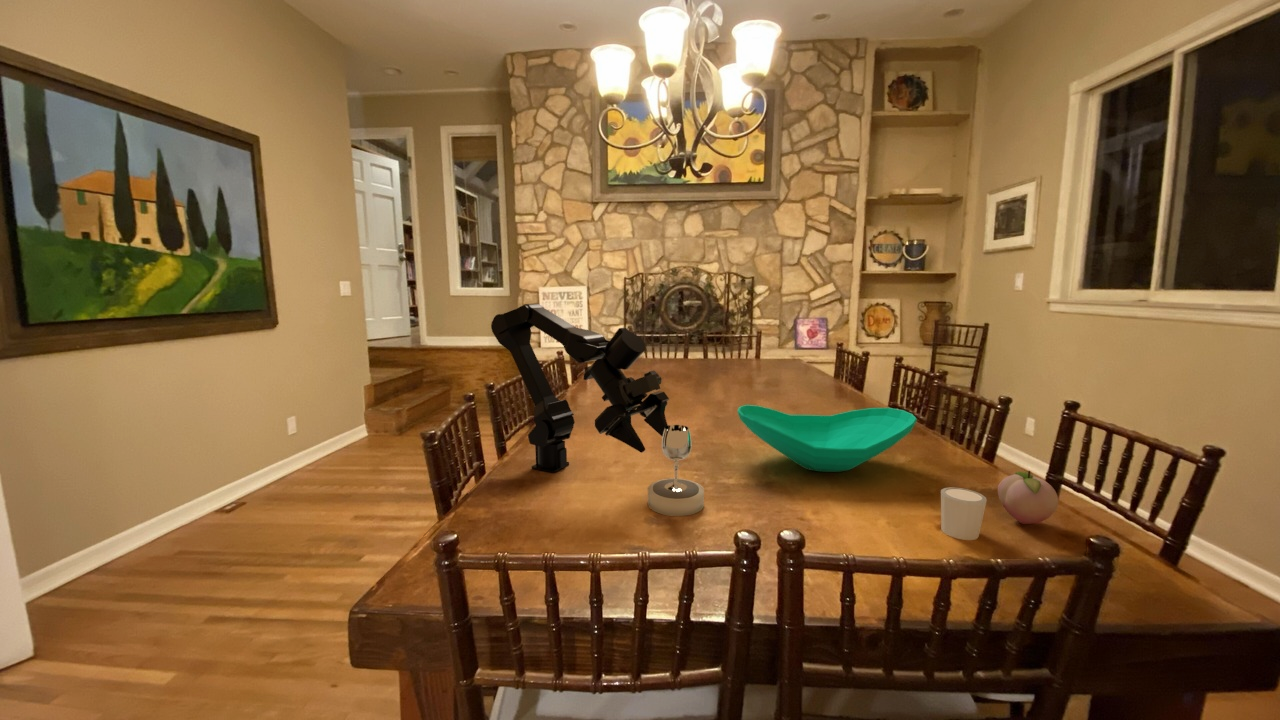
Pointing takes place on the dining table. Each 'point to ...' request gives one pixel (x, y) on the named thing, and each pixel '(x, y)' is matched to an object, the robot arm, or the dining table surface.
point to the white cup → (962, 512)
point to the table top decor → (829, 435)
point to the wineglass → (676, 450)
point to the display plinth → (675, 498)
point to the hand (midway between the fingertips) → (657, 445)
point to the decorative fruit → (1027, 497)
